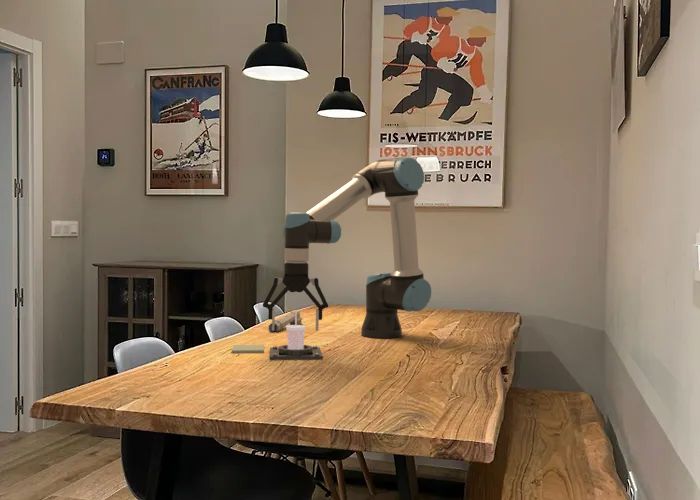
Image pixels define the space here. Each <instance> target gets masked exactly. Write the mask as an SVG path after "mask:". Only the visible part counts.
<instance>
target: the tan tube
mask: <svg viewBox="0 0 700 500" xmlns="http://www.w3.org/2000/svg"><path fill="white" fill-rule="evenodd" d="M295 310H297V325H302V321H303V316H301V313H300V310H299V309H293V310H291V311H290V313H289V314H288V313H287V315H284V316H282V317H281V318H278V319H277V320H276V319H275V326H274V331H272V322H271V323H270V324H269V325H268V331H269V332H270V333H274V332H276V333H278V332H280V331H281V330H283V328H286V326H288V325H295ZM277 331H278V332H277Z"/></svg>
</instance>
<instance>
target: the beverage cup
mask: <svg viewBox="0 0 700 500" xmlns="http://www.w3.org/2000/svg"><path fill="white" fill-rule="evenodd" d="M294 310H295V325H290V324H288V325H286V326H285V328H286V338H287V341H286V342H287V345H288V349H303V347H304V345H305V344H304V343H305V330H306V325H303V324H301V325H297V310H298V309H294Z"/></svg>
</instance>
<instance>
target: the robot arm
mask: <svg viewBox="0 0 700 500" xmlns="http://www.w3.org/2000/svg"><path fill="white" fill-rule="evenodd" d="M424 172H425V171H424V170H423V167H422V166H421V164H420V163H419V162H418V160H416V159H414V158H413V157H402V156H401V157H394V158H386V159H385V158H384V159H378V160H376V161H373V162H372V163H370V164H368V165H366V166H365V167H363V168H362V169H360V170H359V171H358V172H356V173H355V174H354V175H352V176H351V178H350V181H349V182H347V183H346V184H344V185H343V186H341V187H340V188H339V189H337V190H336V191H335V192H333V193H332V194H330V195H329V196H328V197H326V198H324V199H323V200H322V201H320V202H319V203H318V204H315V206H314V207H312V208H311V209H309V210H308V211H307V212H287V213H286V215H285V218H284V224H283V226H282V235H283V237H284V253H283V254H284V261H285V262H284V263H283V277H282V278H281V277H277V276H275V277H274V278H273V284H272V286H271V287H270V290H269V292H268V293H267V296H266V297H265V300H263V303H262V307H263V308H266V309H267V310H268V320H271V323H272V331H274V326H275V320H276V319H275V318H276V316H275V315H276V314H275V313H276V309H275V308H274V307H275V306H276V305H277V304H278V303H279V301H281V299H282V298H283V297H284V296H285V295H286V294H287V292H290V293H302V292H305V294H306V295H307V296H308V298H310V300H311V302H312V303H314V305H315V306H316V307H317V308H316V309H315V329H314V331H316V332H319V323H320V322H319V321H321V320H322V319H323V310H325V309H327V308H328V307H329V304H328V302H327V300H326V298H325V297H326V296H325V295H324V293H323V291H322V289H321V286H320V285H319V284H320V283H319V279H318V278H317V277H314V278H310V277H309V263H308V262H309V260H310V259H309V258H310V257H309V255H310V254H309V253H310V252H309V251H310V249H309V247H310V244H328V245H329V244H335V243H338V242H339V240H340V239H341V236H342V227H341V225H340V223H339V222H338V221H337V220H336V218H338V217H339V216H341V215H342V214H344V212H347V211H348V210H349V209H351V207H353V206H354V205H356V204H357V203H358V202H360V201H361V200H363V199H369V198H370V197H371V196H373V195H375V194H381V193H384V198H385V199H386V200H387V201H388V202H389V207H390V224H391V238H392V251H393V268H394V269H393V270H392V272H384V273H383V272H382V273H371V274H368V276H367V277H366V284H365V290H366V291H365V292H366V293H365V300H366V301H365V304H366V305H365V307H366V308H365V313H366V314H365V316H364V320H363V323H362V327H361V328H360V330H361V331H360V332H361V333H360V334H361V336H362V337H366V338H372V339H394V338H399V337H402V335H403V328H402V326H401V322H400V319H399V315H398V310H401V311H406V312H410V313H411V312H415V313H417V312H421V311H423V310H424V309H425V308H426V307H427V305H428V304H429V303H430V302H431V301H430V300H431V296H432V286H431V283H429V281H427V280H426V279H425V277H424V271H423V270H422V269H420V268H419V253H418V237H417V222H416V221H417V220H416V206H415V201H416V199H417V198H418V197H419V190H420V189H421V188H422V187H423V184H424V182H425V173H424ZM281 283H282V284H283V285H284V287H283V289H282V290H281V291H280V293H278V295H277V296H276V297H275V298H274V299H273V301H271V302H270V300H271V298H272V297H273V294H274V293H275V291H276V289H277V287H278V285H279V286H280V284H281ZM310 283H311V285H312V286H314V287H315V290H316V292H317V294H318V296H319V298H320V300H321V302H322V303H320V302H319V301H318V299H316V297H315V296H314V295H313V294H312V292H311V291H310V290H309V289H308V285H309V284H310ZM269 302H270V304H269Z"/></svg>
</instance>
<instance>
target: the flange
mask: <svg viewBox="0 0 700 500" xmlns="http://www.w3.org/2000/svg"><path fill="white" fill-rule="evenodd" d="M323 359H324V356H323V352H322V350H321V347H319V346H317V345H313V346H312V345H308V344H304V347H303V349H288V344H283V345H280V346H277V345H273V346H272V347H269V361H295V360H296V361H297V360H300V361H303V360H305V361H307V360H308V361H309V360H311V361H313V360H314V361H315V360H316V361H317V360H318V361H319V360H321V361H323Z"/></svg>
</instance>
